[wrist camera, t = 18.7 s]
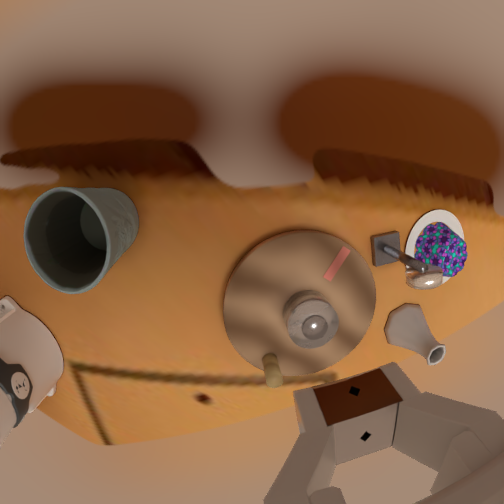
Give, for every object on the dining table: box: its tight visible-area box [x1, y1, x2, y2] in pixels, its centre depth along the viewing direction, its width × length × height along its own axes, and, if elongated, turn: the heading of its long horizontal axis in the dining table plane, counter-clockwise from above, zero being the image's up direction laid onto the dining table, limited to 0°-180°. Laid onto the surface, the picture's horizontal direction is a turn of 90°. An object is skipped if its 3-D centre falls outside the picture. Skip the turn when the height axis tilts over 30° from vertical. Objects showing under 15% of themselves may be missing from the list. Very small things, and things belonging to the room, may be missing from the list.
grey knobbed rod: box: [371, 231, 443, 289], centre depth 34 cm, size 4×4×12 cm
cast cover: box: [283, 290, 339, 349], centre depth 36 cm, size 6×6×4 cm
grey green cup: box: [24, 187, 139, 294], centre depth 31 cm, size 10×10×12 cm
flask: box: [384, 304, 446, 365], centre depth 39 cm, size 7×7×10 cm
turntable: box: [223, 230, 376, 388], centre depth 37 cm, size 20×20×7 cm
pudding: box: [405, 210, 467, 284], centre depth 39 cm, size 12×12×5 cm
